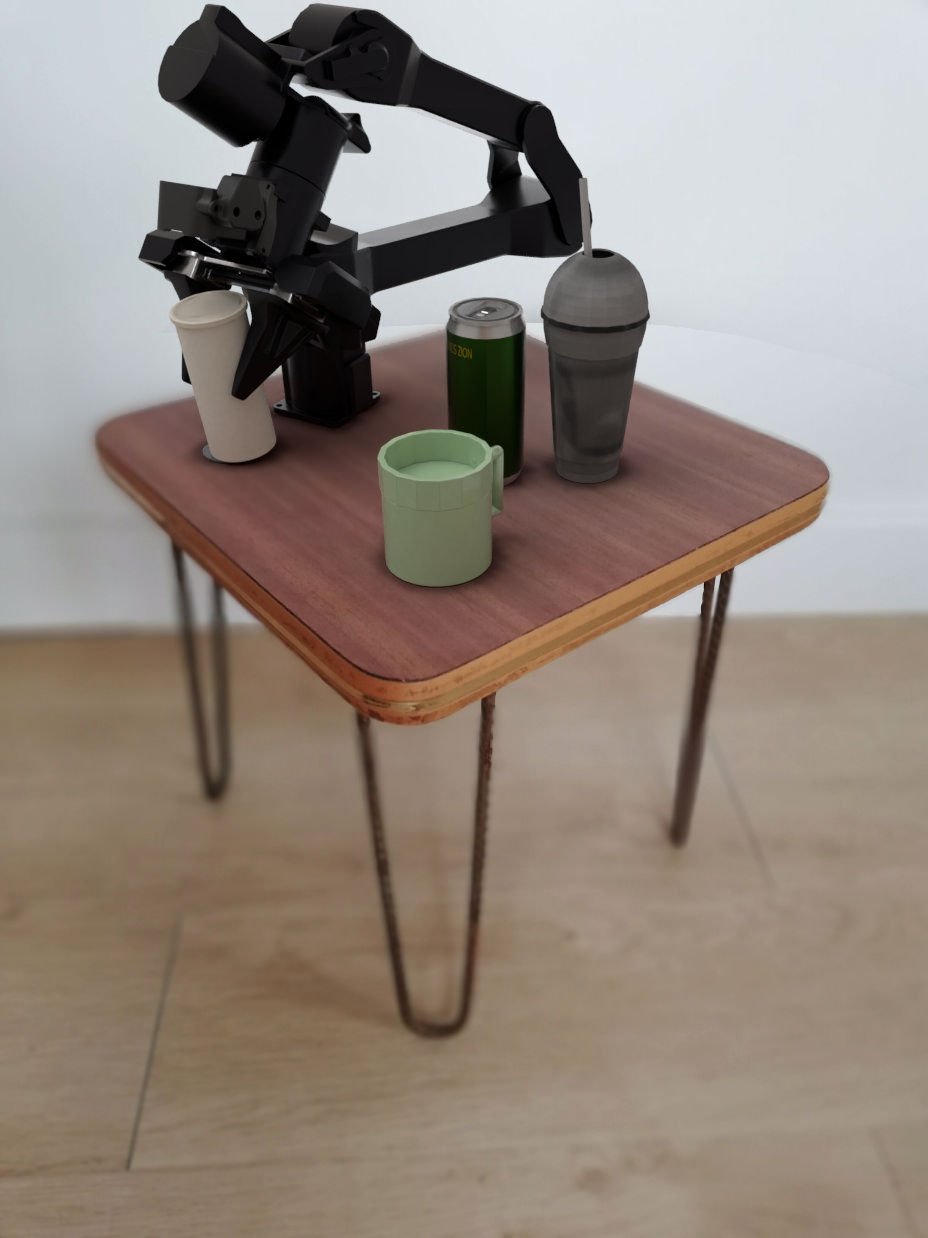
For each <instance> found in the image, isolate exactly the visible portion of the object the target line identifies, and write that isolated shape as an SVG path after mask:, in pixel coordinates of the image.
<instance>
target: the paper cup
mask: <svg viewBox="0 0 928 1238" xmlns="http://www.w3.org/2000/svg"><path fill="white" fill-rule="evenodd" d="M248 307H249V302H248V301H247V299H246V297H245V296H244V294H243V293H241V292H238V291H234V290H229V291H226V290H220V291H209V292H204V293H199V294H196V295H192V296H190V297H187V298H185V299H183V300H181V301H180V300H179V301H177V302H176V303H174V305H172V306H171V307H170V309H169V311H168V317H169V320H170V322H171V323H172V324H173V325H174V327H175V330H176V331H175V332H176V334H177V338H178V341H179V345H180V348H181V353H182V352H183V356H184V359H185V363H186V366H187V370H188V374H189V377H190V381H191V384H192V385H191V387H192V391H193V394H194V398H195V402H196V405H197V409H198V412H199V416H200V419H201V424H202V426H203V430H204V433H205V438H206V441H207V444H208V445H209V448H210V452H211V454H212V456H213V457H214V458H216V459H218V460H220V461H224V462H231V463H243V462H247V461H248V462H249V461H252V460H255V459H258V458H260V457H262V456H265V455H266V454H267V453H269V452H270V451H272V450H273V448H274V447H275V445H276V443H277V435H276V431H275V426H274V421H273V418H272V413H271V410H270V409H271V408H270V406H269V401H268V396H267V393H266V392H267V391H266V387H265V384H264V382H263V383H262V384H261V385H260V386H259V387H258V388H257V389H256V390H255V391H254V392H253V393H252V394H251V395H250V396H249V397H248V398H247V399H246V400H244V401H242V400H239V399H237V398H235V397H233V396H232V395H231V391H232V387H233V382H234V377H235V373H236V370H237V366H238V363H239V360H240V357H241V353H242V350H243V347H244V344H245V340H246V337H247V334H248V331H249V328H250V324H251V323H250V319H249V316H248V311H247V310H248Z"/></svg>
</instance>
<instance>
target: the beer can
mask: <svg viewBox="0 0 928 1238" xmlns="http://www.w3.org/2000/svg"><path fill="white" fill-rule="evenodd" d="M447 313H448V318H447V321H446V323H445V325H444V326H445V327H444V331H445V367H446V369H445V370H446V402H447V403H446V405H447V407H446V409H447V411H446V412H447V430H455V431H459V432H464V433H468V434H472V435H474V436H476V437H478V438H480V439H482V440H484V441H486V442H487V444H488V445H489V447H492V446H494V445H498V446H500V447H502V449H503V452H504V464H503V487H505V486H508V485H509V484H511V483H513V482H515V481H516V480H517V479H518V478H519V477H520V474H521V472H522V470H523V467H524V463H525V461H524V460H525V418H526V417H525V416H526V415H525V412H526V363H527V362H526V357H527V356H526V355H527V353H526V352H527V351H526V350H527V322H526V321H525V318H524V316H523V314H524V309H523V306H522V305H521V304H519V303H518V302H517V301H513V300H510V299H507V298H501V297H491V296H489V297H488V296H487V297H486V296H483V297H471V298H466V299H463V300H460V301H456V302H454V303H453V304H451V305H450V306H449V308H448V312H447Z"/></svg>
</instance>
